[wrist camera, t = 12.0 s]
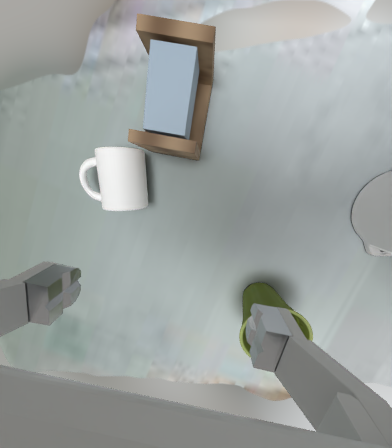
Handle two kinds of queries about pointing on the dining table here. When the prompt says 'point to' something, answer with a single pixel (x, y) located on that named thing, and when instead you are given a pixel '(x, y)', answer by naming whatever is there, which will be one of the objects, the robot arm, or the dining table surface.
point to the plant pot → (268, 297)
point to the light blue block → (171, 89)
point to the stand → (205, 46)
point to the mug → (118, 178)
